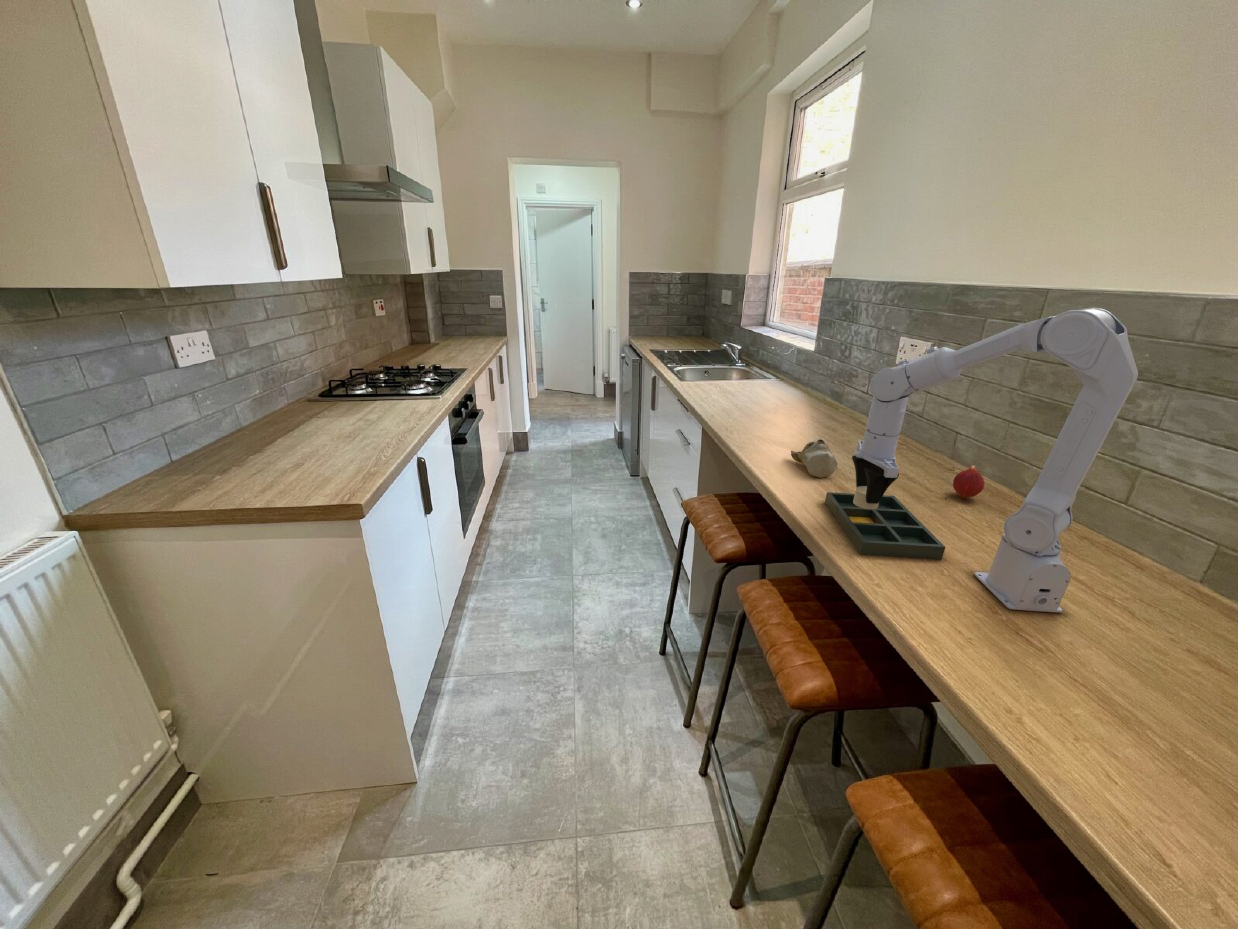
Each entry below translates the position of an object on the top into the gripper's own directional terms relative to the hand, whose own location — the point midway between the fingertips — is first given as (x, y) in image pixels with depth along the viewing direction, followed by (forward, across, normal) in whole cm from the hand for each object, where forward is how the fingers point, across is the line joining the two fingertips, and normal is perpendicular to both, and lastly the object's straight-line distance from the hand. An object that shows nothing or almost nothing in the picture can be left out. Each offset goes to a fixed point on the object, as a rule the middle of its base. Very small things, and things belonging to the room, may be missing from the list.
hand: (867, 496), depth 96 cm
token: (+2, 0, 0) cm, 2 cm away
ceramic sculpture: (+7, -30, -1) cm, 31 cm away
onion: (+7, -17, +29) cm, 35 cm away
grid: (+7, 0, +3) cm, 8 cm away
